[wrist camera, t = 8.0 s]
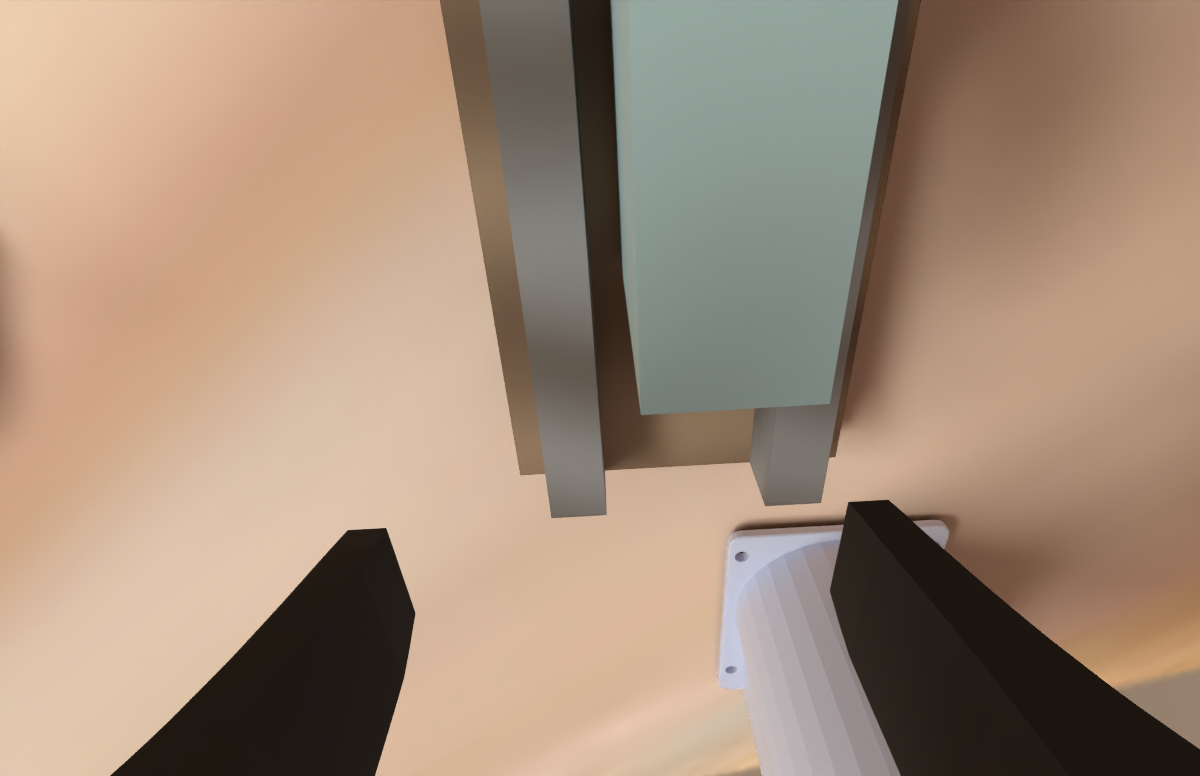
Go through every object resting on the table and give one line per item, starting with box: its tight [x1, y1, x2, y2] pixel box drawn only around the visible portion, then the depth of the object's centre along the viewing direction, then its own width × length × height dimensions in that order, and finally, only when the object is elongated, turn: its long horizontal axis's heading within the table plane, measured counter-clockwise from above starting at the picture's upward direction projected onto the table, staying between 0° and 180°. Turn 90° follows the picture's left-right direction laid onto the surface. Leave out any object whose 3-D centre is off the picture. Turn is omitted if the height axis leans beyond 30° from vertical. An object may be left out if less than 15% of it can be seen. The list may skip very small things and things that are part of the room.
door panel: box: [609, 0, 898, 415], centre depth 10 cm, size 10×3×7 cm, turn 4°
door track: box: [440, 0, 921, 518], centre depth 13 cm, size 22×10×3 cm, turn 3°
